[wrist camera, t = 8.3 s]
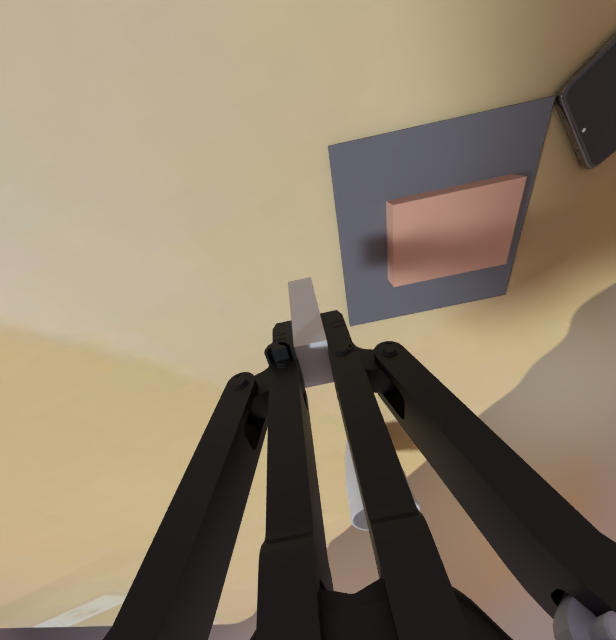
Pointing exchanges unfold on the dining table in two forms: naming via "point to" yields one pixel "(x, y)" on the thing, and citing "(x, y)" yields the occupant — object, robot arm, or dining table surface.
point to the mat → (419, 177)
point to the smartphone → (591, 107)
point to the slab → (452, 229)
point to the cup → (358, 494)
